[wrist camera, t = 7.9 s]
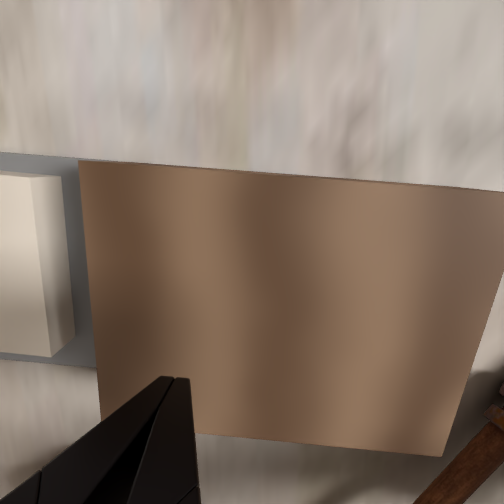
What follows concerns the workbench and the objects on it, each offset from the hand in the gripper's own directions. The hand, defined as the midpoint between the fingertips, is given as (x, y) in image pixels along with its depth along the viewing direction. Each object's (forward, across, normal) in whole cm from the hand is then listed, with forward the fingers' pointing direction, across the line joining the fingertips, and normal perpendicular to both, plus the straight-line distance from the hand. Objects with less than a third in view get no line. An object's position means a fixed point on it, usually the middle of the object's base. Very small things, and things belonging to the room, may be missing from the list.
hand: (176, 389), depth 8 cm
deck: (+8, -3, 0) cm, 9 cm away
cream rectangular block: (+6, +11, -1) cm, 12 cm away
